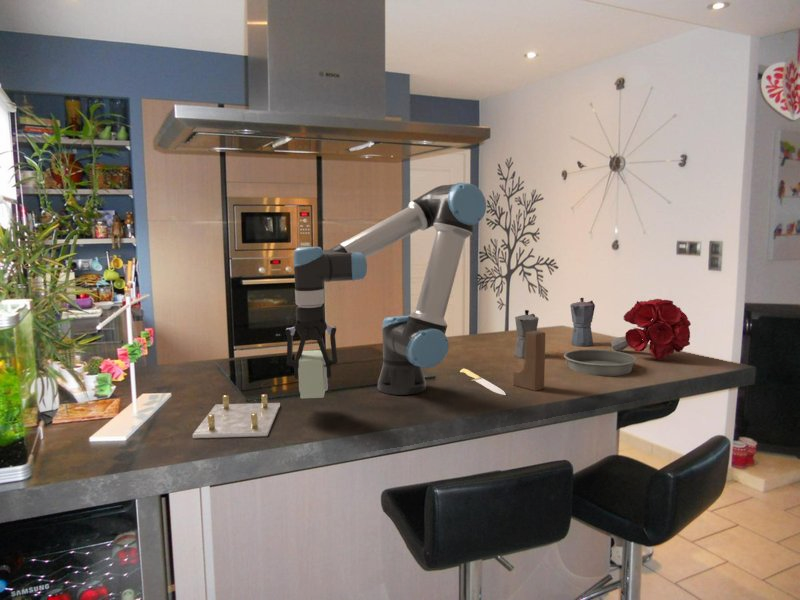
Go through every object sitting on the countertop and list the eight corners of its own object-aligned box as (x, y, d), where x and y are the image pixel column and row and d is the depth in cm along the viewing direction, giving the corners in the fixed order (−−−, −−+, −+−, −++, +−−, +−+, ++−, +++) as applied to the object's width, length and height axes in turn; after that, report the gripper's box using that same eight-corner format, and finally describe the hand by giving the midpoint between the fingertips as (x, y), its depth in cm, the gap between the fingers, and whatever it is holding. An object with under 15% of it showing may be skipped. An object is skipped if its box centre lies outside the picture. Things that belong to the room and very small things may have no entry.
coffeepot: (531, 360, 224) (533, 313, 222) (508, 357, 229) (509, 311, 227) (544, 352, 237) (546, 308, 235) (522, 350, 242) (523, 306, 240)
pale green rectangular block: (326, 384, 168) (324, 350, 167) (323, 397, 156) (322, 360, 155) (304, 385, 168) (302, 350, 166) (300, 398, 156) (298, 361, 154)
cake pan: (594, 357, 230) (594, 346, 229) (651, 371, 209) (652, 358, 208) (548, 366, 217) (549, 354, 216) (604, 381, 196) (605, 368, 195)
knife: (496, 395, 179) (510, 392, 180) (453, 370, 209) (466, 367, 211) (496, 400, 179) (510, 396, 180) (454, 373, 210) (466, 370, 211)
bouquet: (611, 375, 228) (684, 347, 207) (588, 318, 235) (656, 285, 214) (639, 369, 242) (709, 343, 222) (616, 316, 249) (682, 285, 229)
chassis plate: (279, 406, 171) (279, 390, 170) (267, 436, 147) (266, 418, 146) (215, 407, 170) (215, 392, 169) (192, 438, 146) (191, 420, 145)
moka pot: (562, 345, 251) (563, 298, 249) (581, 340, 262) (583, 294, 259) (582, 348, 244) (584, 300, 242) (601, 343, 255) (603, 296, 252)
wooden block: (512, 385, 191) (513, 329, 188) (521, 382, 194) (522, 328, 191) (535, 391, 184) (536, 334, 182) (544, 388, 187) (546, 332, 184)
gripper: (346, 302, 163) (349, 384, 166) (275, 304, 162) (279, 387, 165) (345, 306, 155) (348, 392, 159) (271, 308, 154) (276, 395, 157)
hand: (313, 389), depth 162 cm, fingers closed on pale green rectangular block, 6 cm apart
